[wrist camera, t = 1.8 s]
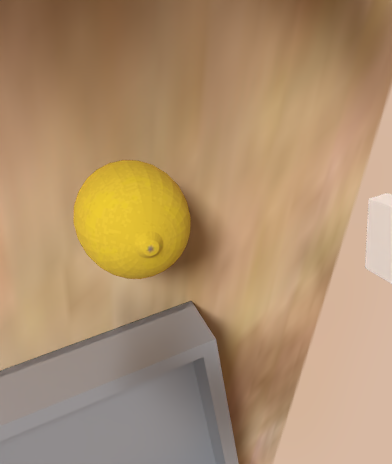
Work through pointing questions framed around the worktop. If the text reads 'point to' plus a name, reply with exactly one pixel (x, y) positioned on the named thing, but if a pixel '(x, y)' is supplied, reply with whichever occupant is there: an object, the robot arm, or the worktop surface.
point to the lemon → (132, 219)
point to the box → (122, 398)
